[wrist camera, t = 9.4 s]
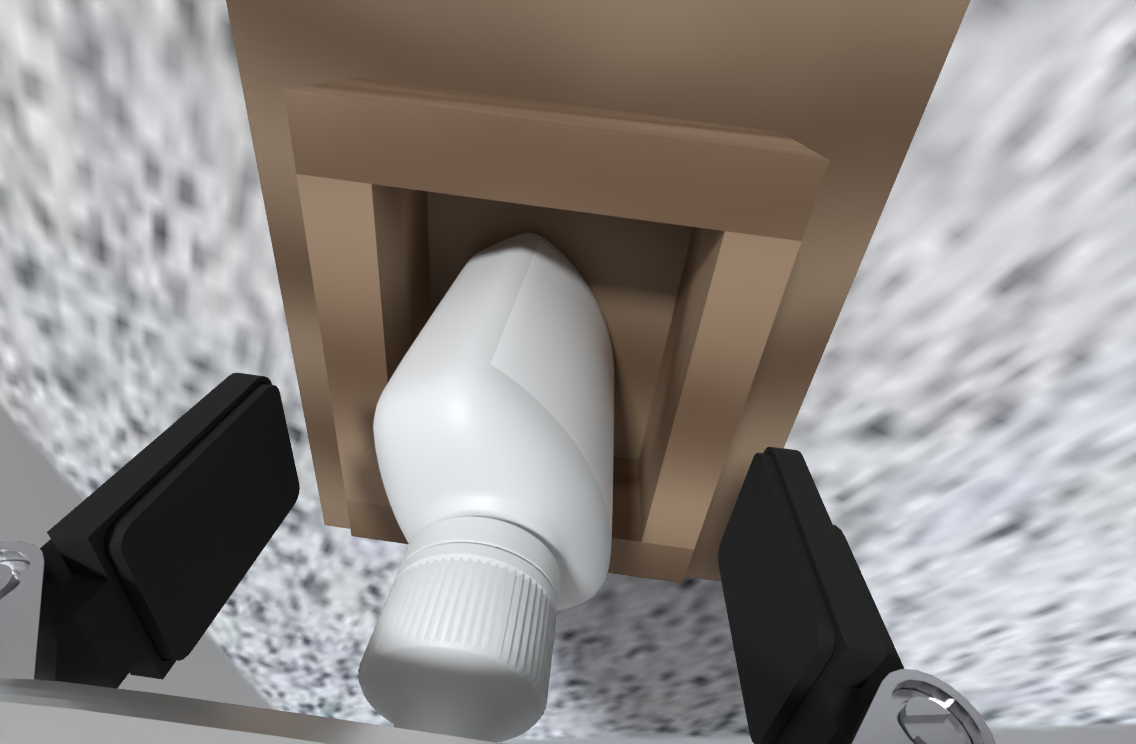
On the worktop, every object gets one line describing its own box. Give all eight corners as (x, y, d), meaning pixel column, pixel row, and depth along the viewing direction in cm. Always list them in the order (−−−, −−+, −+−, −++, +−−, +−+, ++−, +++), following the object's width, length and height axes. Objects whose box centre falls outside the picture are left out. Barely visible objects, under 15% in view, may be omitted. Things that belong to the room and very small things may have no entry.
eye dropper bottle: (633, 236, 14) (673, 728, 4) (609, 408, 17) (596, 941, 7) (470, 220, 14) (114, 658, 4) (473, 394, 17) (269, 897, 7)
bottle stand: (239, -148, 12) (30, -249, 8) (958, -57, 12) (1146, -111, 8) (341, 497, 23) (277, 603, 18) (721, 551, 22) (744, 671, 18)
